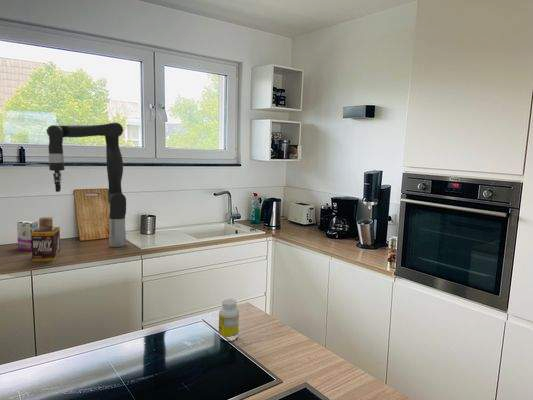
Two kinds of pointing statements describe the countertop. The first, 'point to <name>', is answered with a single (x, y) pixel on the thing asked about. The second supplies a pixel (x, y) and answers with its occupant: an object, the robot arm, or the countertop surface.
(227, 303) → the supplement bottle
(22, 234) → the candy bar box
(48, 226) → the walnut block
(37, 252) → the supplement box
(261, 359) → the countertop surface
